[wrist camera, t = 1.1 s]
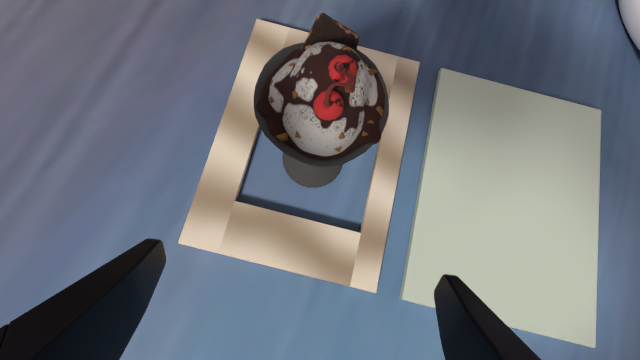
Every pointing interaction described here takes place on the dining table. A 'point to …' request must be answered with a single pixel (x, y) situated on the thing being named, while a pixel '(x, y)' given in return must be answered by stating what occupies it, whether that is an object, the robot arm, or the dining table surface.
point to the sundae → (321, 103)
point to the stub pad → (510, 206)
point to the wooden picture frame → (282, 229)
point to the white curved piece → (631, 18)
